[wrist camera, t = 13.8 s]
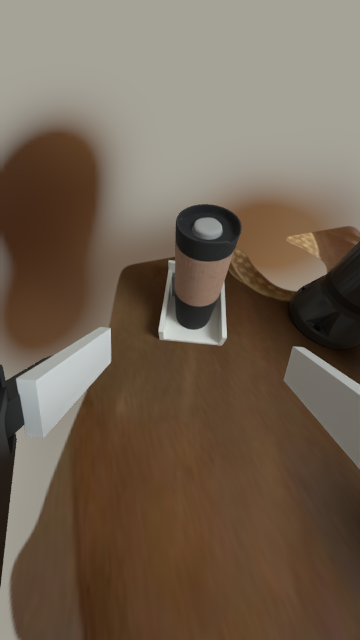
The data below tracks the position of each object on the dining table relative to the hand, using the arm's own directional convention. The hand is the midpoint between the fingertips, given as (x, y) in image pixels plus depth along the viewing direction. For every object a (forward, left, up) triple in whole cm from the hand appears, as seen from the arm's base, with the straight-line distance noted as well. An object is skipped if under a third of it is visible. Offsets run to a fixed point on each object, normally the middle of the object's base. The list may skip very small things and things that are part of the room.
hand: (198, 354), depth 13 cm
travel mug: (-1, -15, -20) cm, 25 cm away
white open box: (-1, -17, -20) cm, 27 cm away
